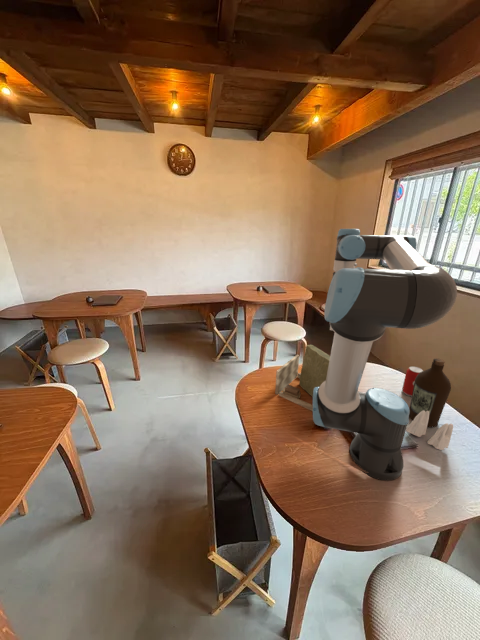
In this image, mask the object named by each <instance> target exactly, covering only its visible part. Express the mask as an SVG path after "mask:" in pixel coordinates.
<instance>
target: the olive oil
mask: <svg viewBox="0 0 480 640" xmlns="http://www.w3.org/2000/svg"><path fill="white" fill-rule="evenodd" d="M444 367H445V360H444V359H442V358H437V357H435V358H433V360H432V362H431V366H430V368H428V369H425V370H423V371H422V372H420V373H419V374H418V375H417V377H416V378H415V382H414V388H413V393H412V397H411V399H410V404H409V410H410V413H409V419H410V420H411V422H412V421H413V420H414V418H415V417H416V416H417V415H418V414H419V413H420V412H421V411H423V410H425V412H426V411H429V420H428V425H427V428H435V427H437V426H438V425H439V422H440V419H441V416H442V413H443V410H444V407H445V405H446V403H447V401H448V398H449V395H450V393H451V390H452V383H451V381H450V379H449V377H448V376H447V375H446V374H445V372H444Z"/></svg>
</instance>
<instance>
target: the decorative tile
mask: <svg viewBox="0 0 480 640" xmlns="http://www.w3.org/2000/svg"><path fill="white" fill-rule="evenodd" d="M329 360H330V354H328V353H326V352H325V351H323V350H322V349H320V348H318V347H317V346H315V345H313V344H306V347H305V351H304V356H303V360H302V365H301V369H300V370H301V371H300V373H301V375H300V378H299V386H300V387H301V388H302V389H303V390H304V392H307V394H309V395H310V396H311V397H312V398H313V390H314V388H315V387H320V385H321V384H322V383H323V382H324V381H326V377H327V371H328V366H329Z"/></svg>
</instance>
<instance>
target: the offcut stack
mask: <svg viewBox="0 0 480 640" xmlns="http://www.w3.org/2000/svg"><path fill="white" fill-rule="evenodd" d="M281 392H283V393H285V394H288V395H290V396H292V397H295V398H297V399H300V398H301V388H298V387H296V386H293V385H291V384H289V385H287V386H286V387H285V388H284V389H283V390H282V391H281Z"/></svg>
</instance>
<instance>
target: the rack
mask: <svg viewBox="0 0 480 640" xmlns="http://www.w3.org/2000/svg"><path fill="white" fill-rule="evenodd" d="M299 364H300V355H299V354H295V356H293V357H292V358H290V360H288V361H287V362H286V363H284V364H283V365H282V366H281V367H280V368H278V369H277V370H276V374H275V392H274V394H275V395H277V396H279V397H281V398H283V399H285V400H288V401H290V402H292V403H294V404H295V405H297V406H301V408H305V409H307V410H308V411H311V412H313V403H309V402H307V401H304V400H303V399H300V398H299V399H297V398H295V397H292V396H290V395H288V394H285V393H283V392H282V391H283V390H284V389H285V387H286V386H287V385H291V383H292V382H293V381H295V379H297V378H298V379H300V375H301V372H299V366H300V365H299Z"/></svg>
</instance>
